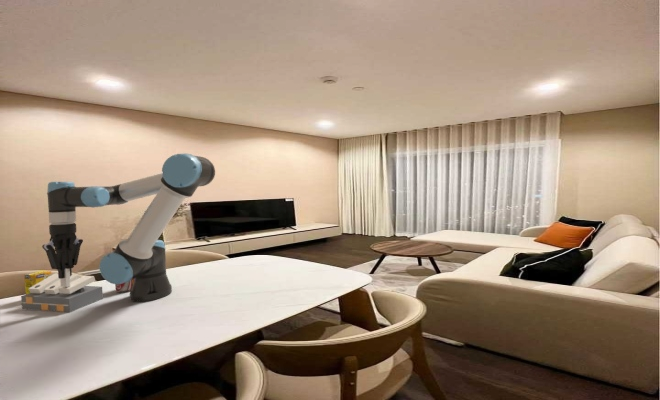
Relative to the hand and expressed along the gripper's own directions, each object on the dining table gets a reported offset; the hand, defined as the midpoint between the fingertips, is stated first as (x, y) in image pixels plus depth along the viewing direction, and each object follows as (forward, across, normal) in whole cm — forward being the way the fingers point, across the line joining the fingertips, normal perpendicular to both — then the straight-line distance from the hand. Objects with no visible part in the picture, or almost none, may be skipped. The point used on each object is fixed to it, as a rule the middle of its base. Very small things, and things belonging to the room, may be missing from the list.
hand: (65, 286), depth 112 cm
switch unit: (+9, -4, -7) cm, 12 cm away
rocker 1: (+1, -4, -14) cm, 15 cm away
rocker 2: (+1, -4, -7) cm, 8 cm away
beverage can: (+9, -21, +5) cm, 24 cm away
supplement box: (+9, -8, -23) cm, 26 cm away
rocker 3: (+1, -4, 0) cm, 4 cm away
